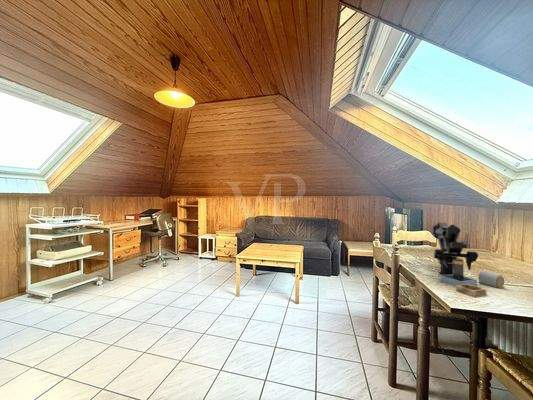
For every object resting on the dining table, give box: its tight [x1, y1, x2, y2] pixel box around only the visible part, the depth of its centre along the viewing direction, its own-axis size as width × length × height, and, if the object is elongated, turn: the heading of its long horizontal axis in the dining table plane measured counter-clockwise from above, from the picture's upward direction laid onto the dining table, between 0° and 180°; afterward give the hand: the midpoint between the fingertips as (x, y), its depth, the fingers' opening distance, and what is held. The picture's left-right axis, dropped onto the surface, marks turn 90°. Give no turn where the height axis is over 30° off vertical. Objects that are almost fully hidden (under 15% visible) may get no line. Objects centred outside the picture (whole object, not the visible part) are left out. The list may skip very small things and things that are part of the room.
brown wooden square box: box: [454, 284, 488, 298], centre depth 111 cm, size 9×9×4 cm
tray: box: [440, 274, 478, 287], centre depth 123 cm, size 11×11×4 cm
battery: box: [453, 257, 465, 281], centre depth 123 cm, size 4×4×14 cm
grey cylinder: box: [477, 270, 505, 289], centre depth 122 cm, size 11×8×8 cm
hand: (458, 268), depth 122 cm, fingers open, 9 cm apart
